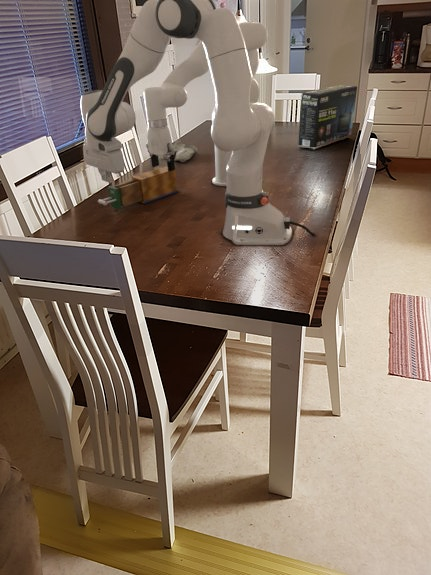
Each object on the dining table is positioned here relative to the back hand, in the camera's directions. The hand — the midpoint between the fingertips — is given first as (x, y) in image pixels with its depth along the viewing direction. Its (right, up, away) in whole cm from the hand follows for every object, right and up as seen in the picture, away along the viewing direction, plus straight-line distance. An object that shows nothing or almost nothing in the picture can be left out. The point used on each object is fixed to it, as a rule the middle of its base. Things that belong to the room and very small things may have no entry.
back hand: (163, 168), depth 180 cm
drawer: (-13, -15, -6) cm, 21 cm away
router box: (+79, +30, +64) cm, 106 cm away
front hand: (-19, -9, -16) cm, 26 cm away
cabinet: (-3, -10, +3) cm, 11 cm away
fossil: (+2, +18, +49) cm, 52 cm away
